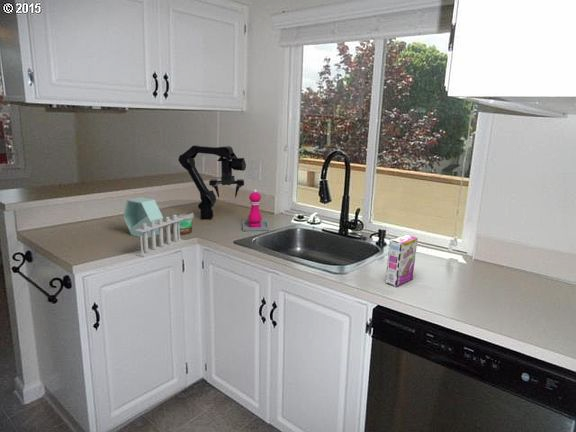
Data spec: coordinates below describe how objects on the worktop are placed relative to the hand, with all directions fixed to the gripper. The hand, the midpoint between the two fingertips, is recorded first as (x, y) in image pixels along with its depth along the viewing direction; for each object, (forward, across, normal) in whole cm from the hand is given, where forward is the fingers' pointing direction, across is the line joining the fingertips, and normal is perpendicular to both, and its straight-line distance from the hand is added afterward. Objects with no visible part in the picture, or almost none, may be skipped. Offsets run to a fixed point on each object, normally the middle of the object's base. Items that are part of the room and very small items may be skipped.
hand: (227, 197), depth 218 cm
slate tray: (+13, +15, -16) cm, 25 cm away
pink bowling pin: (+13, +15, -15) cm, 25 cm away
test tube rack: (+13, -27, -47) cm, 56 cm away
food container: (+13, -20, -25) cm, 35 cm away
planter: (+13, -39, -27) cm, 49 cm away
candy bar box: (+13, +65, -89) cm, 111 cm away
